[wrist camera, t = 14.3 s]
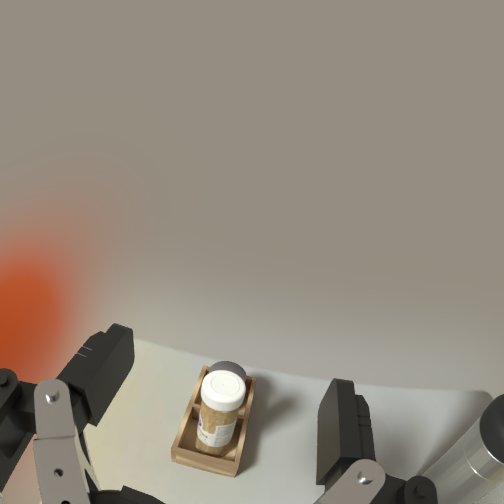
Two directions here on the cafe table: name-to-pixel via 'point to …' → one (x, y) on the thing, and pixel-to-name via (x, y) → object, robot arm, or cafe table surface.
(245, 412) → the caddy
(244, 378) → the honey jar
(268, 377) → the cafe table surface
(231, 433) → the sprinkles bottle
